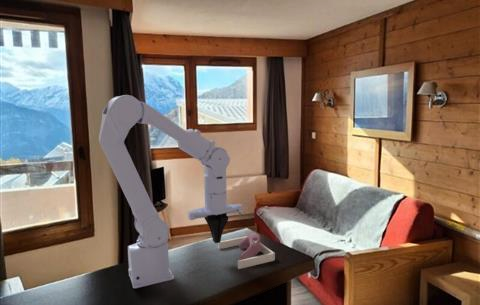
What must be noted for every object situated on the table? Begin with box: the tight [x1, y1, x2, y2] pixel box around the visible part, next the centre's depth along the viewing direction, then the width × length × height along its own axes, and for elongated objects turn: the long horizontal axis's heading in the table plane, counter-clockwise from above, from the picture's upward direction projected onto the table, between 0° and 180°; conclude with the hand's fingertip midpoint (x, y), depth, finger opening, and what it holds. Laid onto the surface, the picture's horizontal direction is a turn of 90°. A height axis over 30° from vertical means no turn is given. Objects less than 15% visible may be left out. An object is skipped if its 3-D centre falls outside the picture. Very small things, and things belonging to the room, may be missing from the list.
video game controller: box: [238, 232, 262, 260], centre depth 94 cm, size 10×5×7 cm, turn 1°
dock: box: [217, 235, 276, 270], centre depth 95 cm, size 11×14×2 cm
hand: (216, 241), depth 91 cm, fingers closed
